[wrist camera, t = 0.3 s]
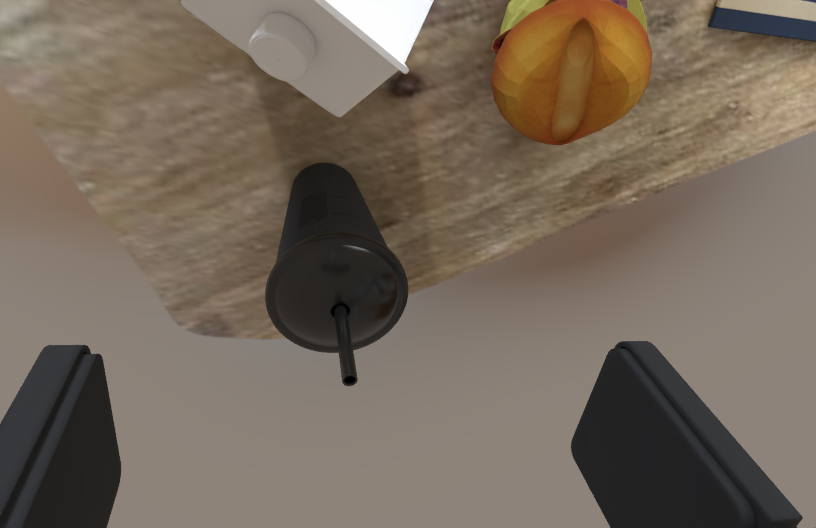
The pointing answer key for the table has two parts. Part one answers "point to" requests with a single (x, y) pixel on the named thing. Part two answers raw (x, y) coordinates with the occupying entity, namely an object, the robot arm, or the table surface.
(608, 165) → the table surface
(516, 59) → the cheeseburger
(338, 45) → the milk carton
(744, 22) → the dish cloth
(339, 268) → the drinking cup
